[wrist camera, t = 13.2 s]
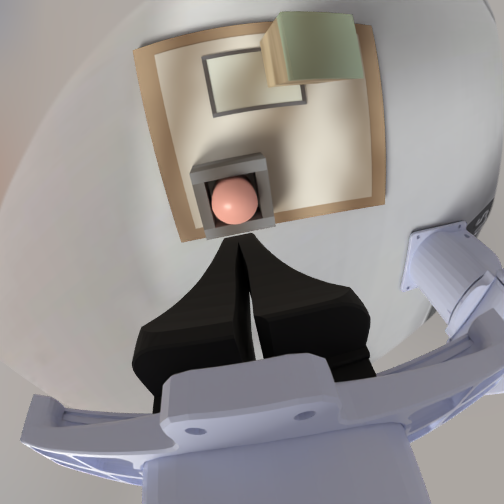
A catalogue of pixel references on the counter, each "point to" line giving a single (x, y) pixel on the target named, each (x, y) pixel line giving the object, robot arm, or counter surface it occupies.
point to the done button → (234, 199)
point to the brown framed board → (259, 131)
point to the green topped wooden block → (311, 49)
